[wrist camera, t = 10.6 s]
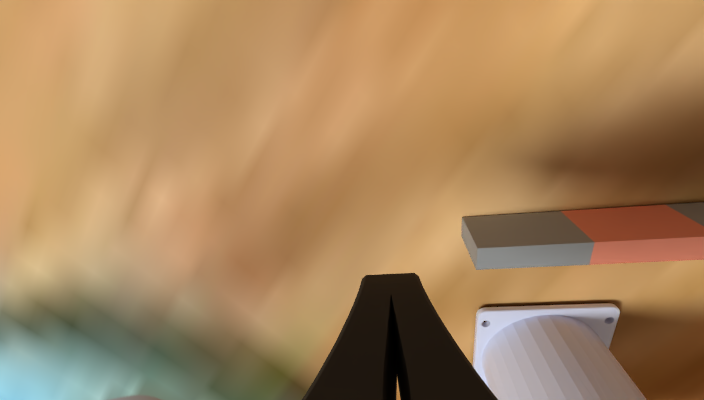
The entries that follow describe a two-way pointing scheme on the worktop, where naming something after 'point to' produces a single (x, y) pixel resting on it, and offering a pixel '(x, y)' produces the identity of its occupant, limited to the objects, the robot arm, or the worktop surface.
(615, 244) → the trap track
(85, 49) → the worktop surface
